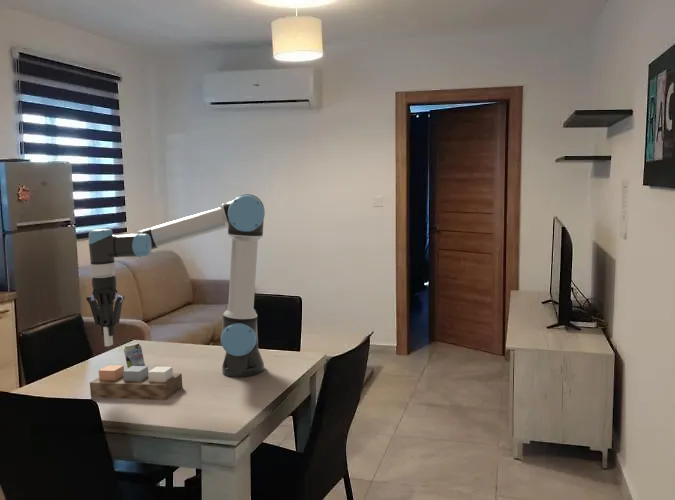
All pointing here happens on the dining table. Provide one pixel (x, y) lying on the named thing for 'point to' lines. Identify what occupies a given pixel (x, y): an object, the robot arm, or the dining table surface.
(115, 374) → the terracotta key
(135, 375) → the slate key
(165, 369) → the offwhite key
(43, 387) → the dining table surface
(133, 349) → the beverage can
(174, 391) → the console
